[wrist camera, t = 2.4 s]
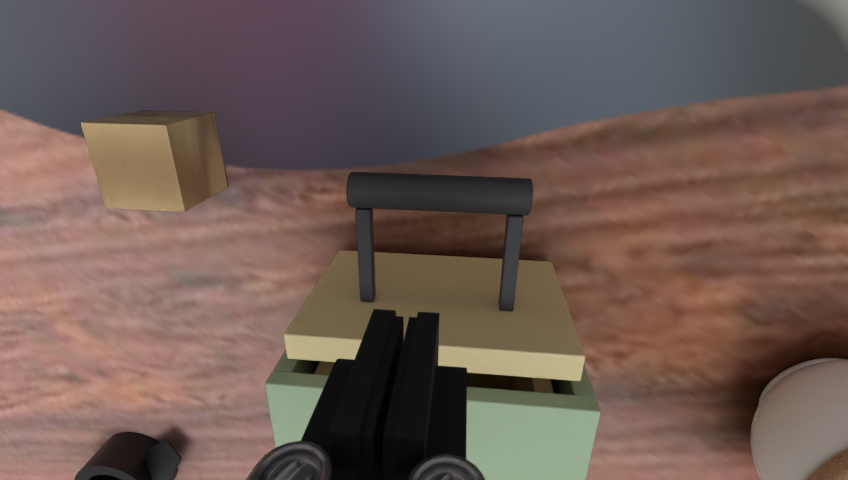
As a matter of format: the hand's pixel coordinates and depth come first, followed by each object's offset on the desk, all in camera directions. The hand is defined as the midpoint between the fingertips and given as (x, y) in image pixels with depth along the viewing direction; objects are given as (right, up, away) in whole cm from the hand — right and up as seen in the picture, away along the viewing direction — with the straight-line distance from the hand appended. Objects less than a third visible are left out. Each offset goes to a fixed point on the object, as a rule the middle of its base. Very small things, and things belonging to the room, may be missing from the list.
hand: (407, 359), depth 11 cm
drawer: (+1, -2, +14) cm, 14 cm away
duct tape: (-21, -14, +23) cm, 35 cm away
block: (-12, +8, +12) cm, 19 cm away
